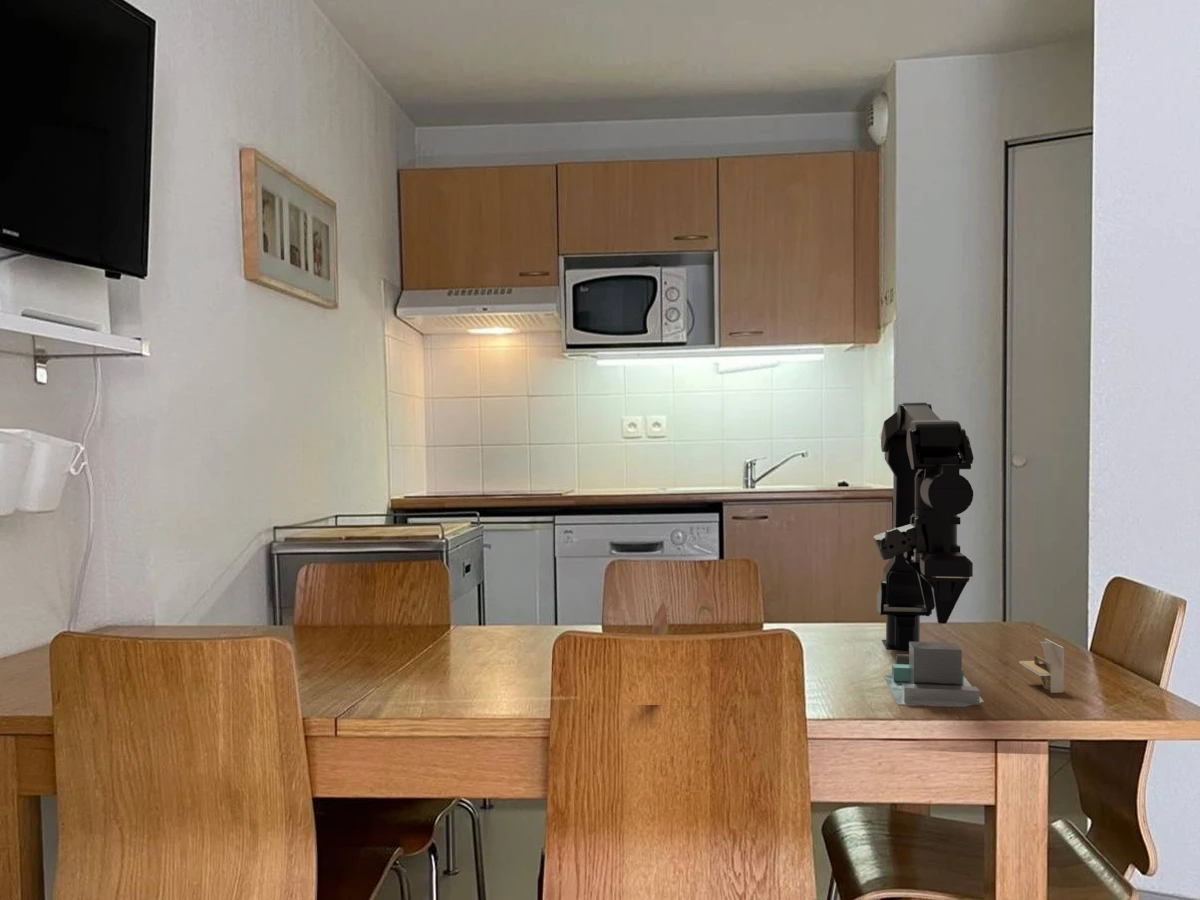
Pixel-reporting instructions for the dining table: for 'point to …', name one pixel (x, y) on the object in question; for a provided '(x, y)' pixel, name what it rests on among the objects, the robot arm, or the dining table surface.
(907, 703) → the vise base
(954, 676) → the steel block
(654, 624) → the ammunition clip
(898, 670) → the free jaw
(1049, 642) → the architectural model
